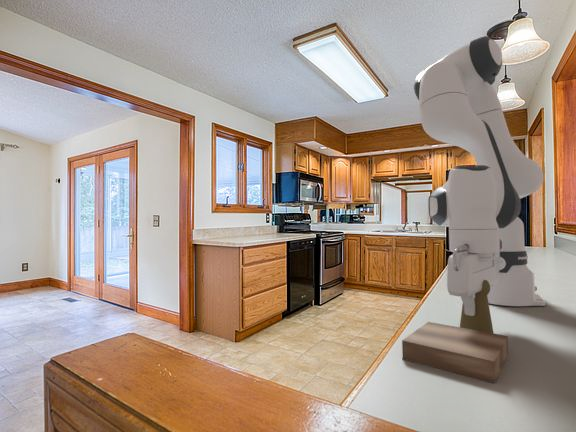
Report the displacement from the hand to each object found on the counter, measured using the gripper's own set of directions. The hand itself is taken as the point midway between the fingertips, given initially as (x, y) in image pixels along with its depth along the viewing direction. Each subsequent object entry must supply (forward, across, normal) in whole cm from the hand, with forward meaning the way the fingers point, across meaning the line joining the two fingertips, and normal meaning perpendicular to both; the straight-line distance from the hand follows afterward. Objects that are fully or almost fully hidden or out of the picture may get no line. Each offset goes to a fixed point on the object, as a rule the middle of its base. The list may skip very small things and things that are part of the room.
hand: (475, 311), depth 65 cm
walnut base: (+4, -15, -1) cm, 16 cm away
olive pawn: (+4, 0, 0) cm, 4 cm away
